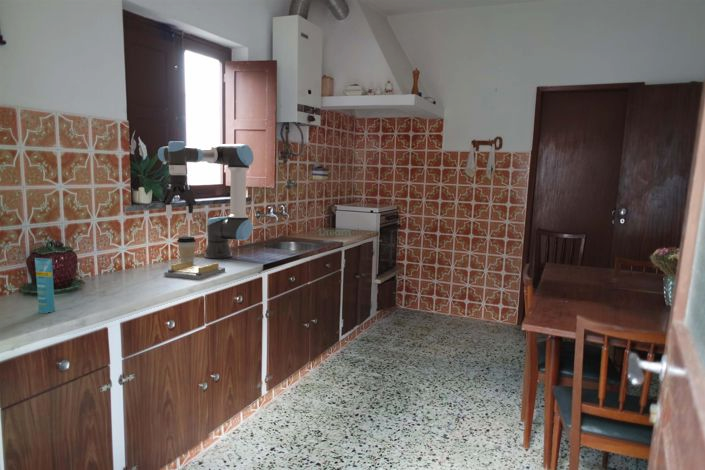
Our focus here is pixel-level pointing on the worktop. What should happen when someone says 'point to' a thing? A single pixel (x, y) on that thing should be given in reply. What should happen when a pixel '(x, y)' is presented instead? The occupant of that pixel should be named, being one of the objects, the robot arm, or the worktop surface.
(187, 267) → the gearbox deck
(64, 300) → the worktop surface
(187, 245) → the coffee cup
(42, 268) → the tube
